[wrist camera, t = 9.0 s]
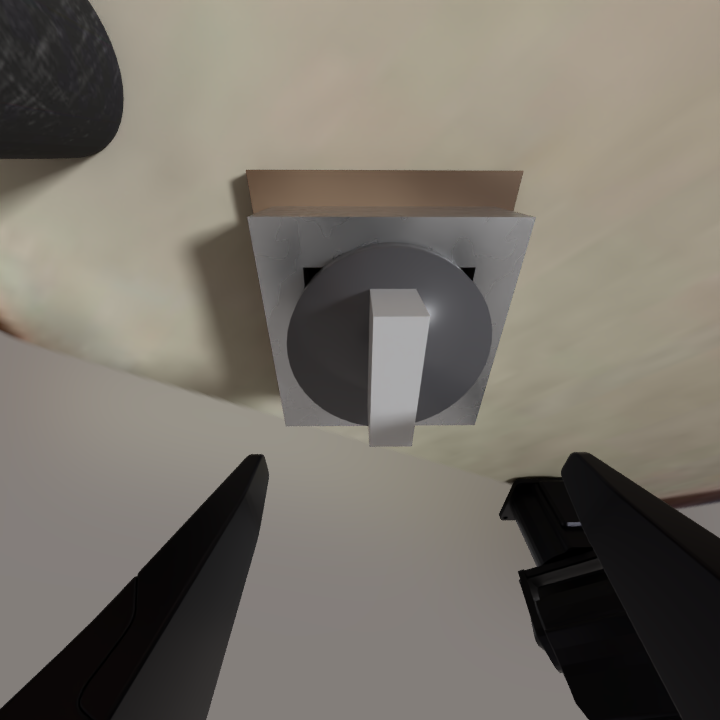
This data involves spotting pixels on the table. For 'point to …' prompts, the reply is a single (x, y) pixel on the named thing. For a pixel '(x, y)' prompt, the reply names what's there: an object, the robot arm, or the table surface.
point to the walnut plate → (383, 188)
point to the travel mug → (56, 80)
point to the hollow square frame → (379, 225)
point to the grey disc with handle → (389, 338)
